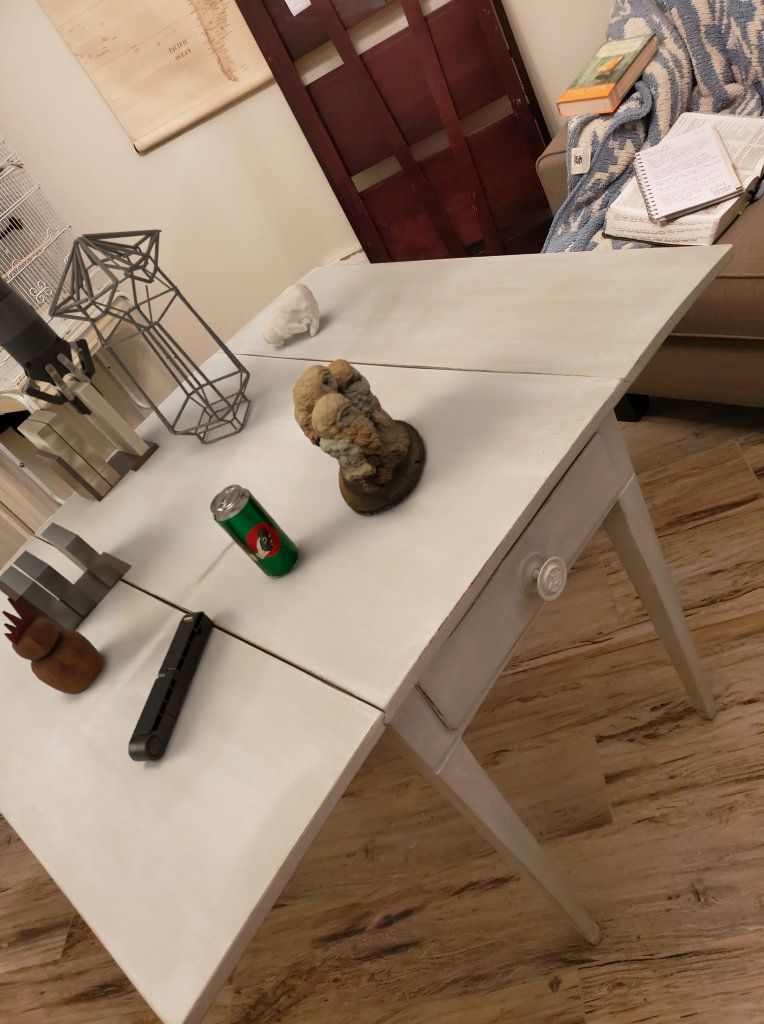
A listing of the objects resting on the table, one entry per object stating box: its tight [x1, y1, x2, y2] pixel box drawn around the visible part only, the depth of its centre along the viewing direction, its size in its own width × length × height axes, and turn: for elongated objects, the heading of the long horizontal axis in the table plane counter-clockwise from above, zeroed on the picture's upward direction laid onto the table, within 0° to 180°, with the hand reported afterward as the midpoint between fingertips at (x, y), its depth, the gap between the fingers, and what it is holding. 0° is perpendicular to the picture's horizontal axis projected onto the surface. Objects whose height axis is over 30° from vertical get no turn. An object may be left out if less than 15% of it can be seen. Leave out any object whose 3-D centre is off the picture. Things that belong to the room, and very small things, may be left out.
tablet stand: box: [127, 610, 214, 763], centre depth 80 cm, size 18×3×3 cm, turn 168°
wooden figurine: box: [1, 597, 105, 695], centre depth 86 cm, size 7×6×15 cm
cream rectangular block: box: [65, 379, 150, 456], centre depth 124 cm, size 2×9×15 cm, turn 51°
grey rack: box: [0, 522, 133, 631], centre depth 101 cm, size 13×10×10 cm
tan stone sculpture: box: [292, 358, 426, 515], centre depth 86 cm, size 18×12×17 cm, turn 5°
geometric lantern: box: [47, 228, 252, 445], centre depth 110 cm, size 16×16×35 cm
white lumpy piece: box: [261, 282, 320, 348], centre depth 127 cm, size 6×8×12 cm
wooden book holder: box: [16, 408, 160, 503], centre depth 122 cm, size 14×10×16 cm
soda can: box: [209, 484, 300, 578], centre depth 84 cm, size 5×5×12 cm
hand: (94, 407), depth 122 cm, fingers closed on cream rectangular block, 2 cm apart
